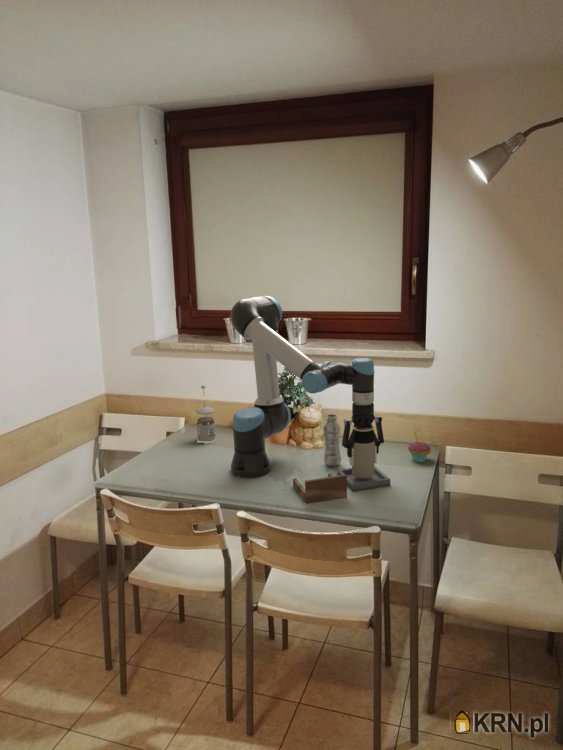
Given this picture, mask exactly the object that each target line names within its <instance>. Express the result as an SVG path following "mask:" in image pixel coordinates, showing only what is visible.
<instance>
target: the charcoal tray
mask: <svg viewBox="0 0 563 750" xmlns="http://www.w3.org/2000/svg"><path fill="white" fill-rule="evenodd" d="M336 472H337V473H336V476H339V475H346V476H347V489H349V490H350V491H351V492H359V490H360V491H364V490H365V489H366V490H372V489H378V488H384V487H390V486H391V478H390V477H388V476H387V475H386V474H385V473H383V472H382V471H381V470H380V469H379V468H378V467H377V466H376V465H374V475H373V476H372V477H369V478H358V477H355V476H353V475H352V467H348V468H341V469H337V470H336Z"/></svg>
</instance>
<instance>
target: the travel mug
mask: <svg viewBox="0 0 563 750" xmlns="http://www.w3.org/2000/svg"><path fill="white" fill-rule="evenodd" d="M351 428H352V430H354V431H356V436H355V438H354V445H353V447H352V448H353V449H354V467H352V466H351V468H352V475H353V476H355V477H358V478H369V477H372V476H373V475H374V466H375V463H374V434H373V430H374V429H375V427H374V426H373V427H372V428H369V427H366V428H361V429H357V427H353V426H352V427H351Z"/></svg>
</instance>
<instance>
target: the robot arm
mask: <svg viewBox="0 0 563 750" xmlns="http://www.w3.org/2000/svg"><path fill="white" fill-rule="evenodd" d="M282 317H283V309H282V306H281V304H280V303H279V302H278V300H277V299H276V298H274V297H272V296H270V295H260V296H255V297H249V298H245V299H244V298H243V299H241V300H239V301H237V302H236V303H234V305H233V306H232V308H231V311H230V322H231V324H232V326H233V328H234V329H235V331H236V332H237V333H238V334H239V335H240V336H241V337H242V338H244V339H245V340H248V341H249V340H251V341H252V349H253V350H252V351H253V359H254V360H253V361H254V373H255V384H256V393H257V395H256V396H257V398H256V399H255V400H254V402H253V403H254V406H253V407H252V406H251V407H250V406H249V407H247V408H245V407H244V408H242V409H239V410H237V411H236V412H235V413H234V414H233V417H232V418H233V419H232V429H233V430H232V431H233V446H234V447H233V449H234V452H233V457H232V461H231V463H230V472H232V473H233V474H234V476H235V475H236V476H235V477H238V476H240V477H239V478H244V477H246V478H258V477H263V476H265V475H268V473H270V472H271V462H270V460H269V457H268V454H267V451H266V441H265V439H267V438H270V437H271V436H275V435H277V434H279V433H281V432H282V431H284V430H285V429H287V427H288V426H289V424H290V423H291V418H292V416H291V415H292V414H291V410H290V408H289V407H288V405H287V404H286V403H285V400H284V398H283V397H281V395H280V387H279V386H280V385H279V376H278V373H279V372H278V363H277V362H279V363H280V365H282V366H283V367H284V368H286V369H287V370H289V372H291V373H292V374H293V375H295V376H296V377H297V378H298V379H300V380H301V385H302V387H303V389H304V390H305V392H307V394H308V393H309V394H317V393H321V392H324V391H325V390H327V389H330V388H332V387H334V386H337V385H340V384H342V385H350V386H351V387H352V389H351V390H352V391H351V392H352V393H351V395H352V396H351V397H352V398H351V399H352V400H351V401H352V404H351V405H352V406H351V408H352V409H351V413H352V415H351V418H349V419H343V424H344V427H343V434H342V435H343V436H342V440H341V441H342V442H341V446H342V447H343V448H344V449H346V456H347V457H348V458H349V459H348V460H349V461H348V462H349V465H350V466H351V468H352V467H354V449H353V448H352V447H353V445H354V438H355V436H356V431H354V430H353V429H352V431H351V426H352V423H353V426H352V427H357V429H361V428H366V427H369V428H372V427H374V425H373V422H375V429H376V433H377V434H376V433H375V430H374V429H373V434H374V464H377V463H378V462H377V461H378V460H377V455H378V454H379V453H380V452H379V451H380V446H381V444H384V443H385V439H384V432H383V426H382V421H383V418H382V417H381V416H380V415H375V414H374V413H375V404H374V402H375V388H374V387H375V386H374V385H375V366H374V365H375V362H374V361H373V359H371V358H366V357H356V358H354V359H353V360H352V362H345V361H344V362H343V361H336V360H327V361H323V363H322V364H321V366H319V365H318V364H317V363H316V362H315V361H313V360H312V359H311V358H310V357H308V356H307V355H305V354H304V353H303V352H302V351H300V350H299V349H298V348H297V347H295V346H294V345H293V344H291V343H290V342H289V341H288V340H286V338H284V337H283V336H281V335H280V334H279V333H278V332H279V329H278V324H279V323H280V321H281V320H282ZM232 473H231V474H232ZM233 474H232V475H233Z"/></svg>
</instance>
